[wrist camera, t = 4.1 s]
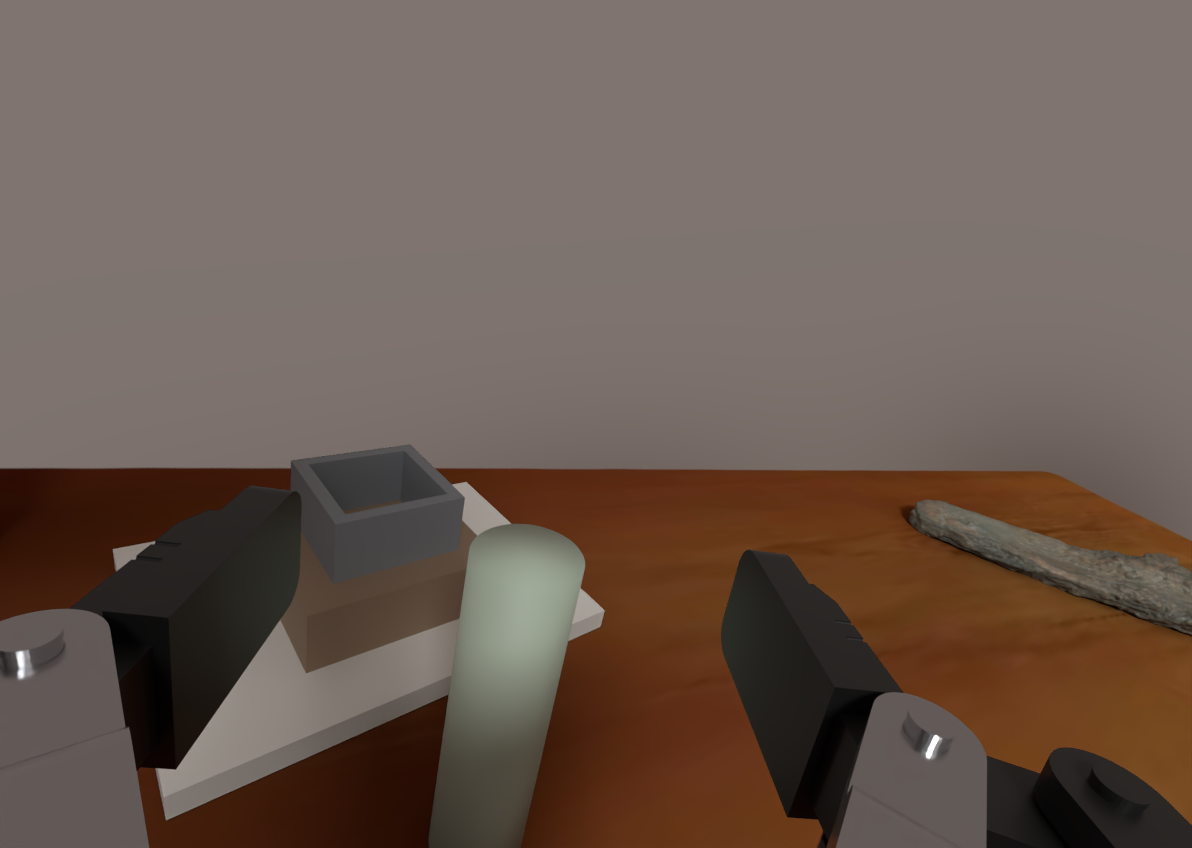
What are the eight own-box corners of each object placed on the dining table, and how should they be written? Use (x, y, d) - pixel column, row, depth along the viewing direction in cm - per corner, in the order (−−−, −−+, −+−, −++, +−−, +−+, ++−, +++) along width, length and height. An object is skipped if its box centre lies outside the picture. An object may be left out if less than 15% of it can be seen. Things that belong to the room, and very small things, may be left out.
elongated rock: (902, 514, 77) (901, 552, 69) (916, 478, 75) (916, 512, 66) (1255, 624, 64) (1307, 686, 55) (1283, 584, 62) (1341, 642, 53)
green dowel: (457, 907, 26) (511, 608, 20) (412, 821, 28) (447, 538, 23) (540, 848, 28) (608, 573, 23) (491, 776, 31) (540, 514, 26)
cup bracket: (166, 820, 26) (149, 654, 23) (115, 568, 40) (99, 438, 36) (600, 626, 44) (628, 515, 40) (464, 495, 57) (476, 403, 53)
